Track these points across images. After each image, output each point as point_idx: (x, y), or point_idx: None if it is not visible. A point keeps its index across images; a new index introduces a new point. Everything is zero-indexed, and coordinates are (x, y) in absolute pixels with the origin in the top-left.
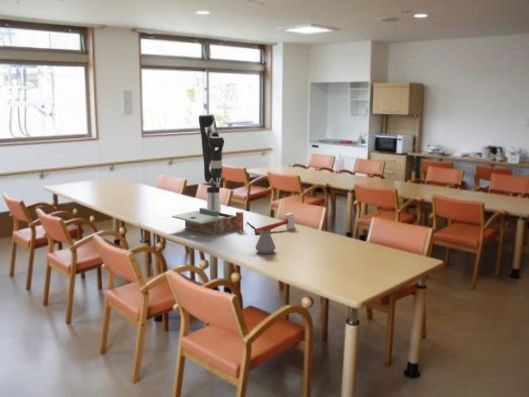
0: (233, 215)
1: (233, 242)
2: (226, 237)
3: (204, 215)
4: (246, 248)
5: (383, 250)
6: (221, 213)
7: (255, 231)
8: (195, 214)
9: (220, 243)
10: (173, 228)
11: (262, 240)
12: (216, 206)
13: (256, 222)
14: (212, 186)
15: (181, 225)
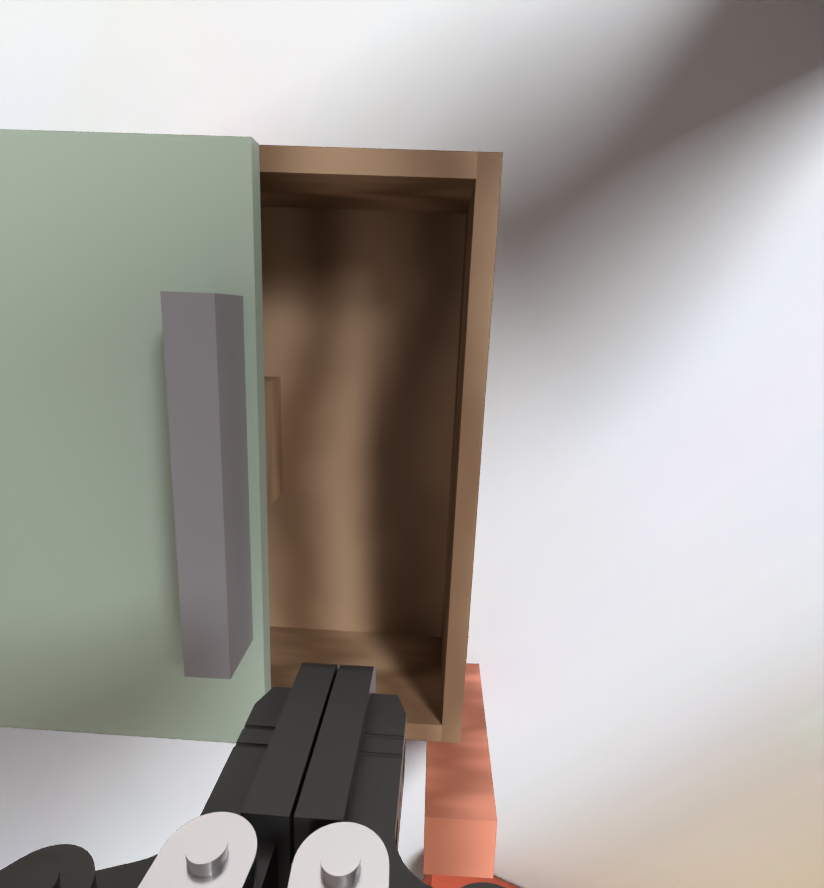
0: (461, 706)
1: (129, 857)
2: (188, 742)
3: (126, 488)
4: None
5: None
6: (455, 513)
7: (426, 878)
8: (70, 340)
9: (39, 805)
10: (16, 95)
11: None
12: None
13: (808, 636)
14: (45, 849)
15: (170, 54)
